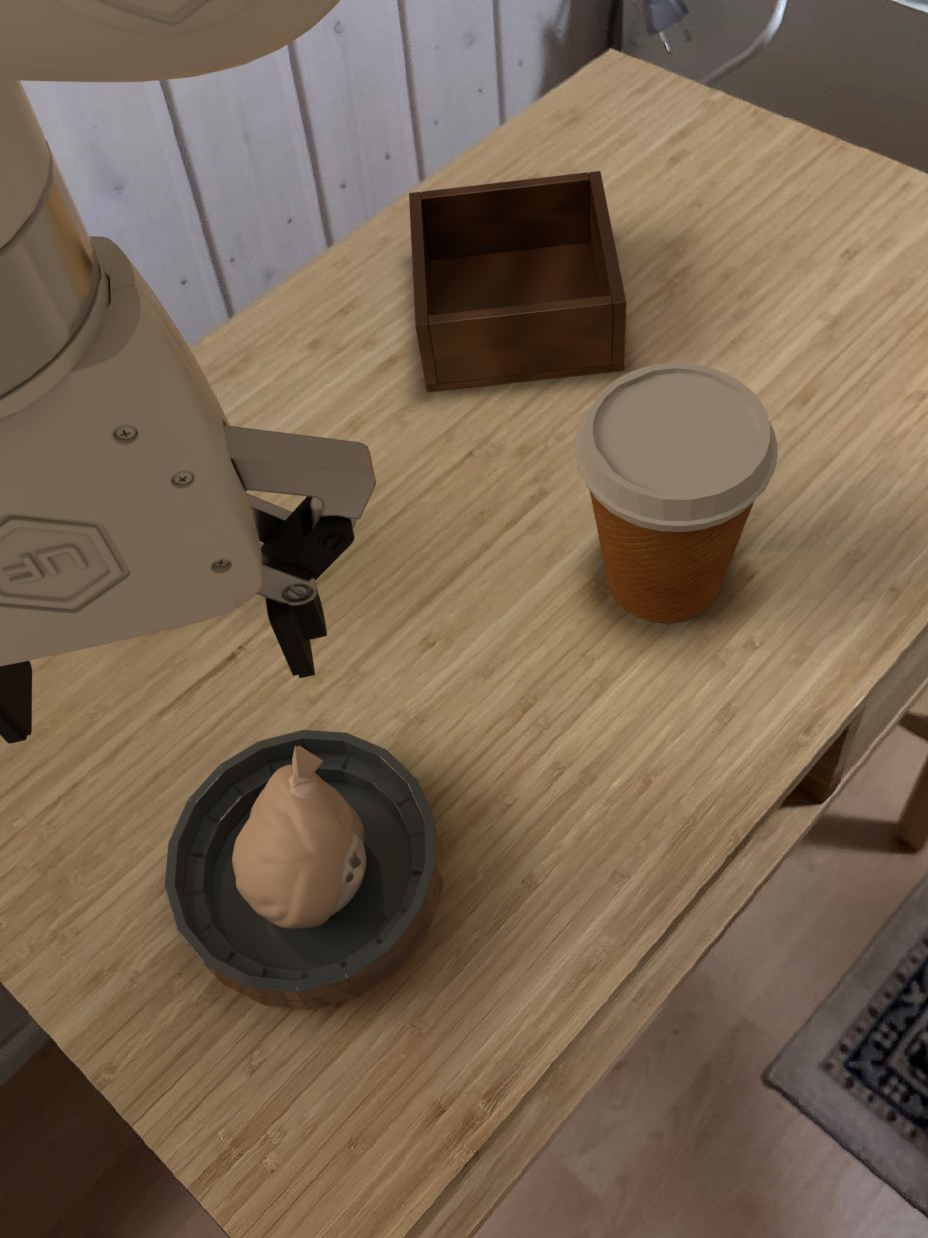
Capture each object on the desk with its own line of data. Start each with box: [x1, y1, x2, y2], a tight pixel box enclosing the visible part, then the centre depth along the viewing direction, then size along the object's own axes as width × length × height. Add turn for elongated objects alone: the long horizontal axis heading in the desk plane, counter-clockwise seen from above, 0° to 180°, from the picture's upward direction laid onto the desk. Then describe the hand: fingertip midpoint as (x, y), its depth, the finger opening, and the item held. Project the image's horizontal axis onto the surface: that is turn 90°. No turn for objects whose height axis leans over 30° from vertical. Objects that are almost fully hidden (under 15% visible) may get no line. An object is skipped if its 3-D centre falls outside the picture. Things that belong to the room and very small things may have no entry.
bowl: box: [164, 729, 444, 1011], centre depth 54 cm, size 13×13×4 cm
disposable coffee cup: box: [574, 362, 779, 624], centre depth 59 cm, size 10×10×12 cm
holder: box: [408, 170, 627, 392], centre depth 74 cm, size 13×13×6 cm
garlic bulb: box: [232, 746, 366, 929], centre depth 52 cm, size 7×6×8 cm
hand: (162, 673), depth 39 cm, fingers open, 9 cm apart
